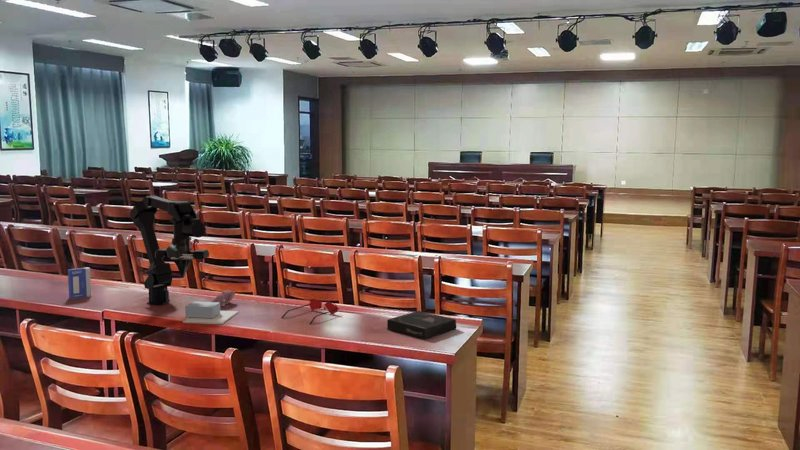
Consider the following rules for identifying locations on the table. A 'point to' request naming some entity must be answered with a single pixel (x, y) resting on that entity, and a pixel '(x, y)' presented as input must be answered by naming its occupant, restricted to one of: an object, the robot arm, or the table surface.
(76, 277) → the walkman
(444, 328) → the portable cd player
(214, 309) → the slab
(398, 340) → the table surface
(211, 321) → the mat
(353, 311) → the table surface
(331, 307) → the glasses
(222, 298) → the video game controller
